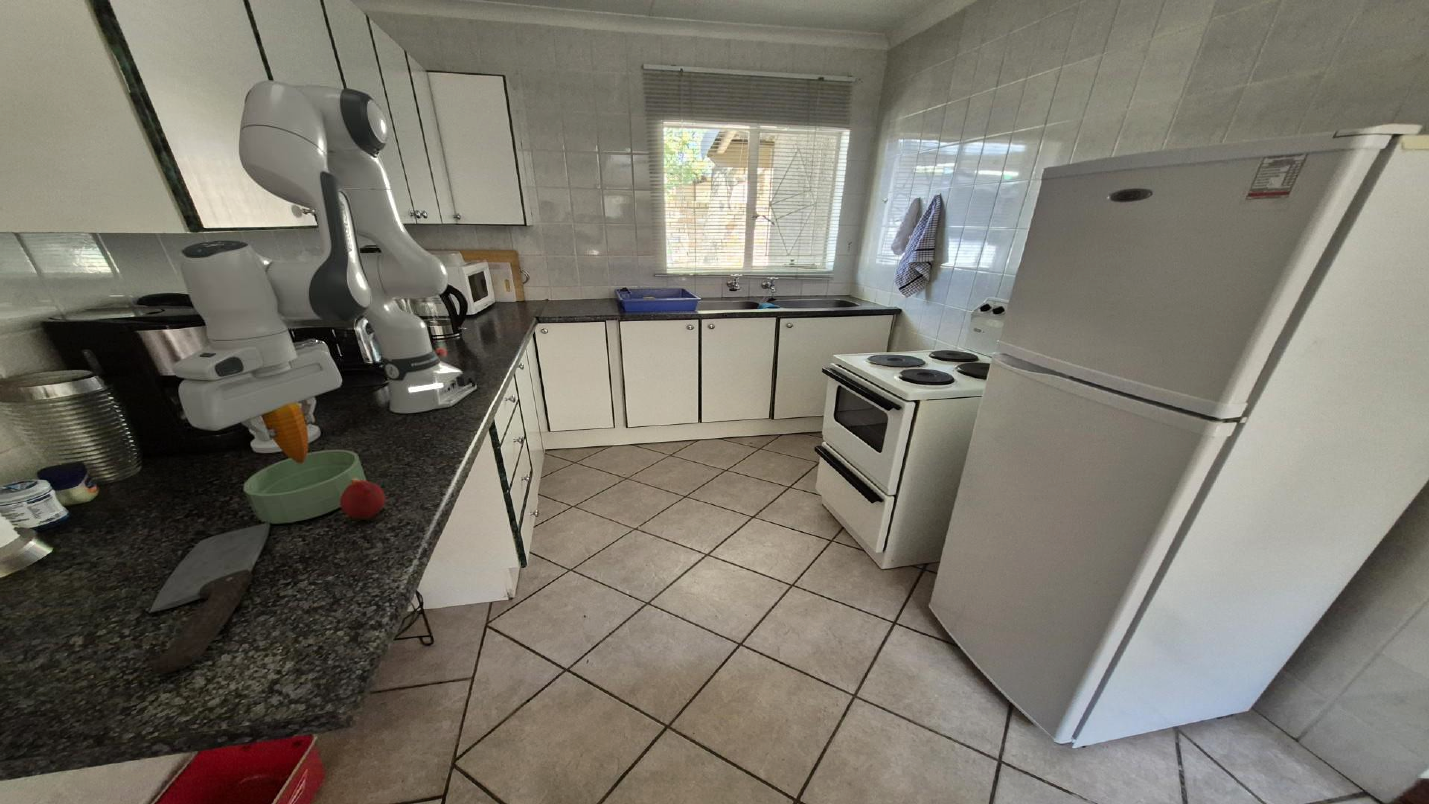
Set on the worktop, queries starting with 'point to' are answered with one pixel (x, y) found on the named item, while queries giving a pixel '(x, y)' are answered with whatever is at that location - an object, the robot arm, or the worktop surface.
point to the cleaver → (208, 590)
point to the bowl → (302, 486)
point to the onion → (362, 499)
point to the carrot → (289, 430)
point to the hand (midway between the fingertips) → (288, 431)
